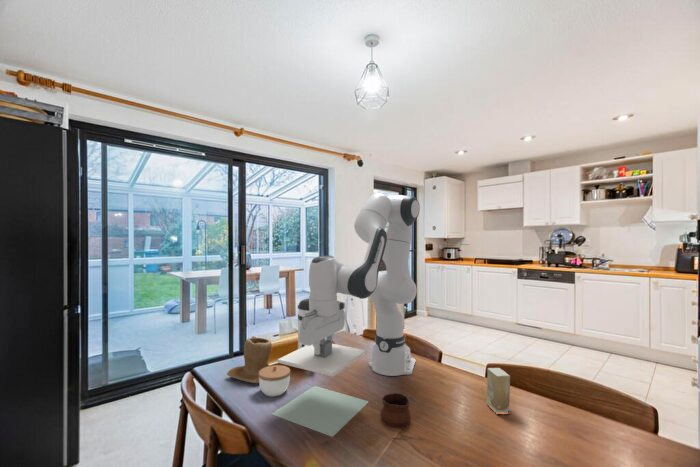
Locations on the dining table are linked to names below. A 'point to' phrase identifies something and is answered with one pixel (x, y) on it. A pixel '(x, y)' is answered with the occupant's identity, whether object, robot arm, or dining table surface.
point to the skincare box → (498, 389)
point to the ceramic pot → (396, 411)
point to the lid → (323, 358)
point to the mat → (321, 410)
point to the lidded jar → (274, 380)
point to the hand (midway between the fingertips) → (323, 351)
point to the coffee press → (302, 310)
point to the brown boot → (252, 360)
